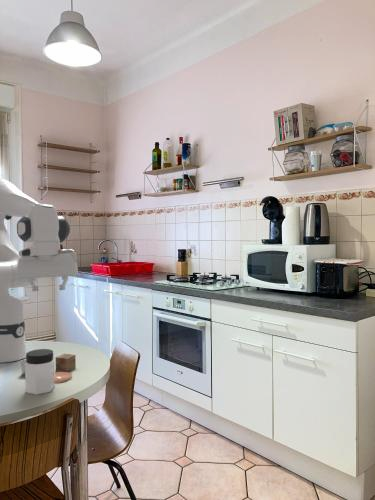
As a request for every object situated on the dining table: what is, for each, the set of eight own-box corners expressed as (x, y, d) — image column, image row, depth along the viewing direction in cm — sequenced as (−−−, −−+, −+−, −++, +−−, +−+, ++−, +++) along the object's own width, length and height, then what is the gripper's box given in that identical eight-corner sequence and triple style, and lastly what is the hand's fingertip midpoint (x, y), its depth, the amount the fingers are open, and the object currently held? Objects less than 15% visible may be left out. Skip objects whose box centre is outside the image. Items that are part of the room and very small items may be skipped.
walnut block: (55, 370, 149) (55, 357, 149) (64, 366, 154) (64, 353, 154) (66, 372, 147) (66, 358, 147) (75, 368, 152) (75, 354, 152)
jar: (49, 394, 126) (48, 356, 126) (22, 395, 126) (21, 356, 126) (57, 384, 135) (56, 348, 135) (32, 384, 135) (31, 348, 134)
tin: (18, 375, 144) (18, 362, 144) (28, 371, 149) (28, 358, 148) (29, 377, 142) (28, 364, 142) (38, 372, 147) (38, 360, 147)
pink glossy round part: (38, 381, 138) (38, 378, 138) (56, 372, 146) (56, 370, 146) (60, 384, 135) (60, 382, 135) (77, 375, 143) (77, 373, 143)
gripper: (79, 248, 144) (81, 288, 144) (22, 251, 145) (24, 291, 144) (73, 248, 138) (75, 289, 137) (13, 251, 138) (16, 292, 138)
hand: (48, 290), depth 141 cm, fingers open, 8 cm apart
